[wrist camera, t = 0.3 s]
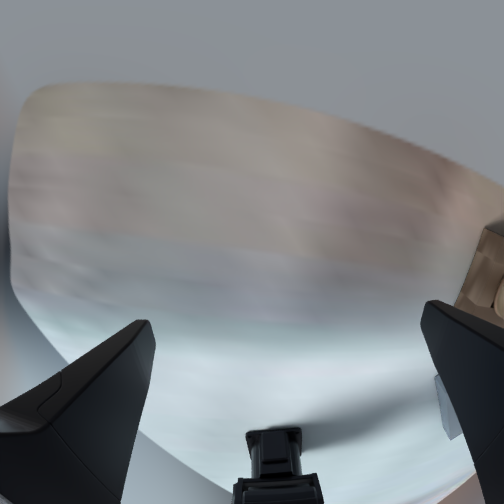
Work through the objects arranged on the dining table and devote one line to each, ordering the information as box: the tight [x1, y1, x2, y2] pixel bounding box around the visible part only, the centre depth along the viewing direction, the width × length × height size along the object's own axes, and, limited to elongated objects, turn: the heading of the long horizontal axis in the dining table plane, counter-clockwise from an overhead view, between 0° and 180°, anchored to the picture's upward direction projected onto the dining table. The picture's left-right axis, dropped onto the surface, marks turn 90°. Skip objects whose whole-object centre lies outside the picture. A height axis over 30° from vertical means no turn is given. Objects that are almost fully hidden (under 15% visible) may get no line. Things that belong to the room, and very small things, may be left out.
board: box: [435, 375, 463, 440], centre depth 28 cm, size 20×14×3 cm
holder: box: [454, 228, 504, 328], centre depth 23 cm, size 9×9×3 cm
